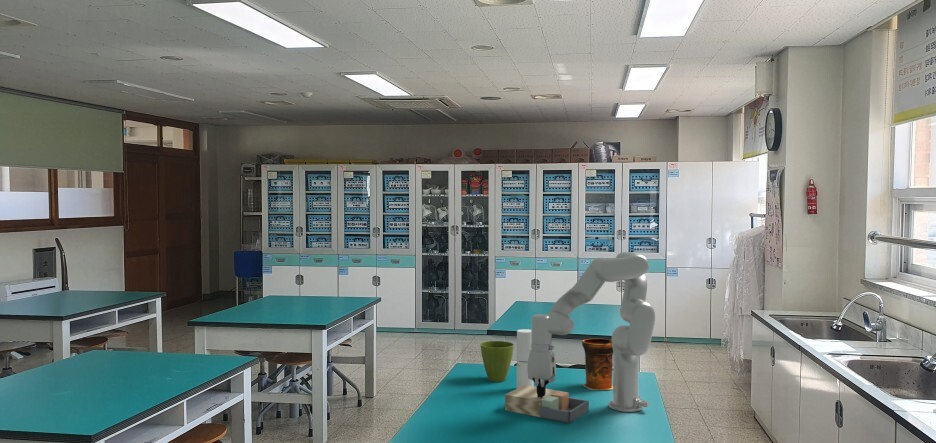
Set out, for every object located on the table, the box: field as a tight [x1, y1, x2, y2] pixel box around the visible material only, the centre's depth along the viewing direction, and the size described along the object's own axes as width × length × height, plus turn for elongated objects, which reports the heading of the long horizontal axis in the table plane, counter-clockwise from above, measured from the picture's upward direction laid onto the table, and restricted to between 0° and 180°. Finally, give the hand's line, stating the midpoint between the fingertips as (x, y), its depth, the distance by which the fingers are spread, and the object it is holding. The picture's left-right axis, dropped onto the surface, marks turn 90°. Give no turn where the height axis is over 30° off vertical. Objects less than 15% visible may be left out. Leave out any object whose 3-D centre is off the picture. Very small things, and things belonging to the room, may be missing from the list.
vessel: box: [581, 337, 614, 391], centre depth 287 cm, size 14×14×20 cm
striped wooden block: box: [504, 385, 559, 418], centre depth 257 cm, size 15×16×6 cm
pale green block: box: [542, 396, 559, 410], centre depth 248 cm, size 6×6×4 cm
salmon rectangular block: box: [552, 390, 570, 411], centre depth 254 cm, size 6×6×4 cm
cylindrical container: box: [516, 328, 535, 389], centre depth 282 cm, size 7×7×25 cm
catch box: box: [539, 397, 590, 424], centre depth 249 cm, size 12×17×4 cm
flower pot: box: [479, 340, 515, 383], centre depth 298 cm, size 15×15×16 cm
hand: (541, 396), depth 250 cm, fingers closed
